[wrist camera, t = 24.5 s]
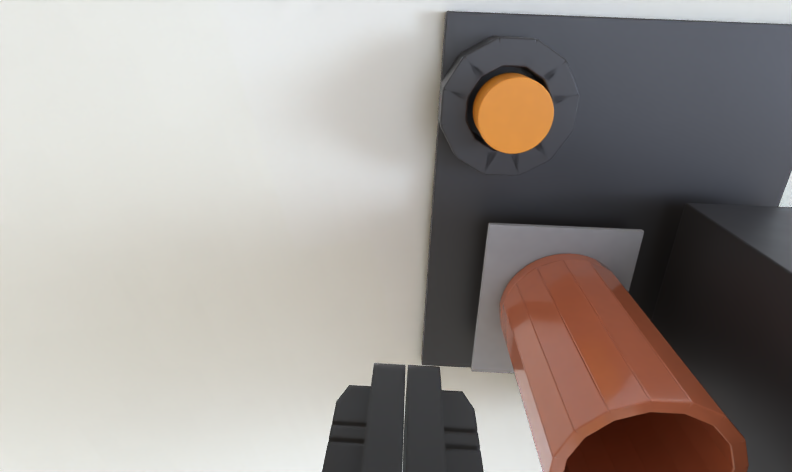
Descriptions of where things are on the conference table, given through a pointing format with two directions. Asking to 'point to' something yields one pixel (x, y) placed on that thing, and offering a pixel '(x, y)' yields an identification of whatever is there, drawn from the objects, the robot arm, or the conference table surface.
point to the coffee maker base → (601, 141)
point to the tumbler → (607, 378)
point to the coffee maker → (686, 307)
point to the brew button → (513, 113)
